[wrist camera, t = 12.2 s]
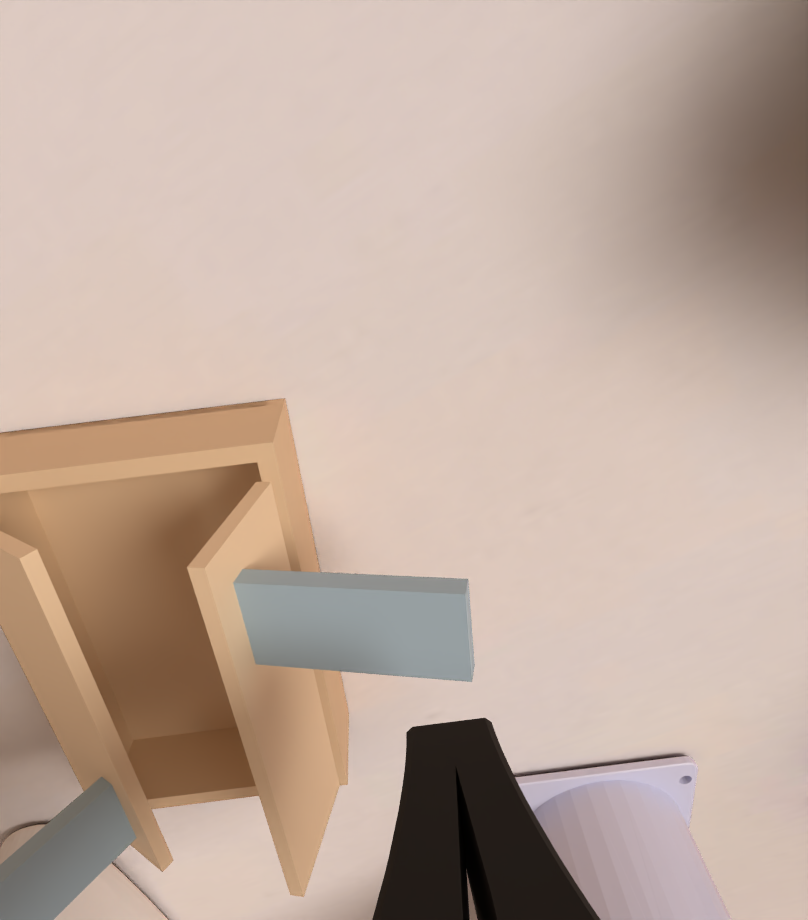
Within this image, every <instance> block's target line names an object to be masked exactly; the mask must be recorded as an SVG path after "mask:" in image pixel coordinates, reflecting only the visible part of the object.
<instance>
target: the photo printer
mask: <svg viewBox="0 0 808 920" xmlns="http://www.w3.org/2000/svg"><path fill="white" fill-rule="evenodd" d="M45 825H46V824H42V825H34V826H29V827H26V828H23V829H20V830H18V831H16V832H14V833H12V834H11V835H10V836H9V837H7V839H6V840H5V841H4V842H3V844H2V846H1V848H0V864H1V863H3V862H4V861H5V860H6V859H7V858H8V857H10V856H11V855H12V854H13V853H14V852H15V851H16V850H18V849H19V848H20V847H21V846H22V845H23V844H25V843H26V842H27V841H28V840H29V839H30V838H31V837H33V836H34V835H35V834H36V833H37V832H38V831H39V830H41V829H42V828H43V827H44V826H45ZM54 920H168V919H167V918H166V917H165V916H164V915H163V914H162V913H161V911H160V910H159V909H158V908H157V907H156V906H155V905H154V904H153V903H152V902H151V901H150V900H149V899H148V898H147V897H146V896H145V895H144V894H143V893H142V892H141V891H140V890H139V889H138V888H137V887H136V886H135V885H134V884H133V883H132V882H131V881H130V880H129V879H128V878H127V877H126V876H125V875H124V874H123V873H122V872H121V871H120V870H118V869H117V868H116V867H115V866H114V865H113V864H112V863H111V864H110V865H109V866H108V867H107V868H106V869H104V870H103V871H102V872H101V873H100V874H99V875H98V876H97V877H96V878H95V879H94V880H93V881H92V882H91V883H90V884H89V885H88V886H87V887H86V888H85V889H84V890H83V891H82V892H81V893H80V894H79V895H78V896H77V897H76V898H75V899H74V900H73V901H72V902H71V903H70V904H69V905H68V906H67V907H66V908H65V909H64V910H63V911H62V912H61V913H60V914H59V915H58V916H57V917H56V918H55V919H54Z"/></svg>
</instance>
